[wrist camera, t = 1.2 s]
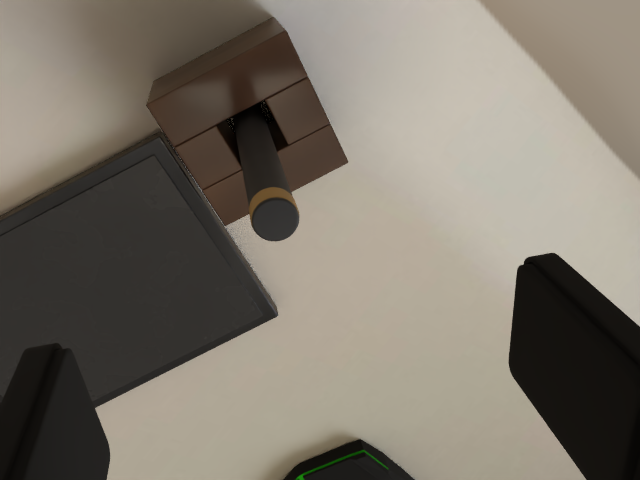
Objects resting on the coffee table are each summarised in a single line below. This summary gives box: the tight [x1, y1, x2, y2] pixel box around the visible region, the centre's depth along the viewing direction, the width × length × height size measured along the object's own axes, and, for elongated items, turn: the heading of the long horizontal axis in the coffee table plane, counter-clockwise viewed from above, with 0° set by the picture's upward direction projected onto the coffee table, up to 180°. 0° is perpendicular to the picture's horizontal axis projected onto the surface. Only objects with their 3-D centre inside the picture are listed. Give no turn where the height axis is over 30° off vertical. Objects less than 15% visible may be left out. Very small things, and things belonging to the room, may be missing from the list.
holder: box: [146, 17, 348, 226], centre depth 25 cm, size 6×6×4 cm
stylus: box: [233, 102, 299, 241], centre depth 22 cm, size 1×1×12 cm
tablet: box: [0, 132, 278, 408], centre depth 29 cm, size 12×16×1 cm
